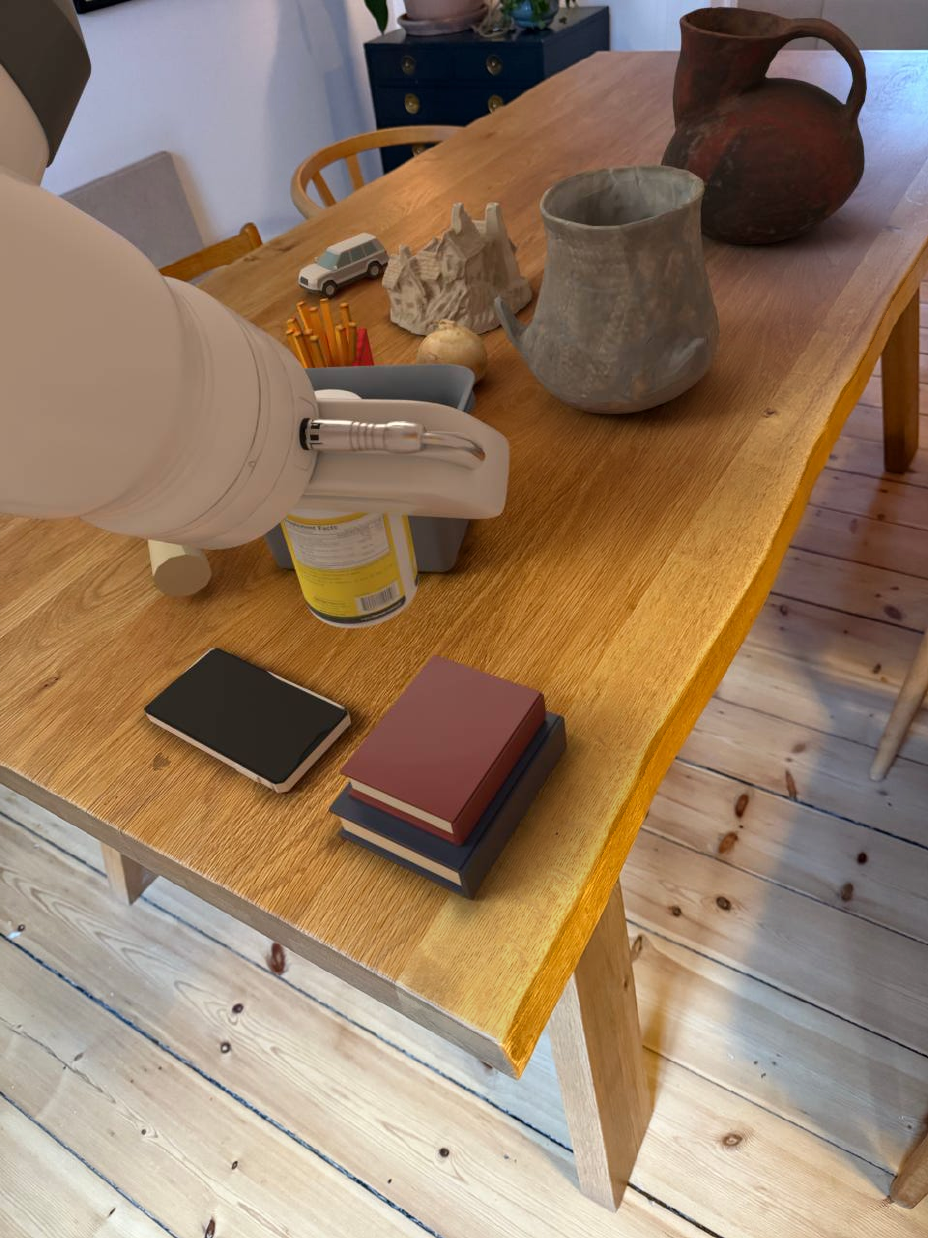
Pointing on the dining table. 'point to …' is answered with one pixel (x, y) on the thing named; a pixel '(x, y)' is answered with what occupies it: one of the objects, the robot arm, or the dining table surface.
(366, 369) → the storage bin
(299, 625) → the dining table surface
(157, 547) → the flower vase
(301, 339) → the french fries container
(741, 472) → the dining table surface
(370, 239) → the toy car
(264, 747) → the smartphone
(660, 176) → the vessel
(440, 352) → the onion
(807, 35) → the jug
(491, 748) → the book stack
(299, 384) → the robot arm
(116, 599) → the dining table surface
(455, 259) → the ceramic cottage
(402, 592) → the pill bottle
